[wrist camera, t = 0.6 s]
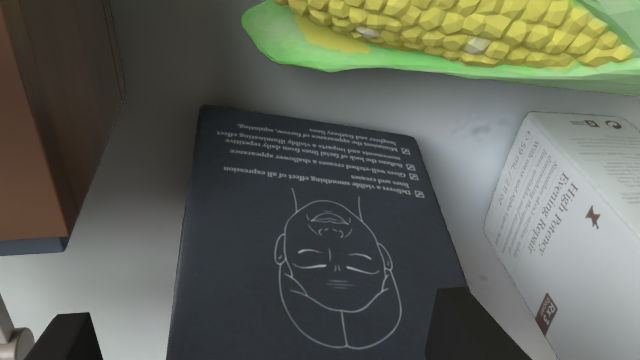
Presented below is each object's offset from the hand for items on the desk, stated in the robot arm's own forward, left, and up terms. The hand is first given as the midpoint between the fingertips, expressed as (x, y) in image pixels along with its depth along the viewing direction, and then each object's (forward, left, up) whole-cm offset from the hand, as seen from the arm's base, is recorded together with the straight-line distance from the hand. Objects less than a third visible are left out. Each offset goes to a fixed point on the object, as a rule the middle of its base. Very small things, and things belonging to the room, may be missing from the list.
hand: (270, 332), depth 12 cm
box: (-2, -1, -10) cm, 10 cm away
